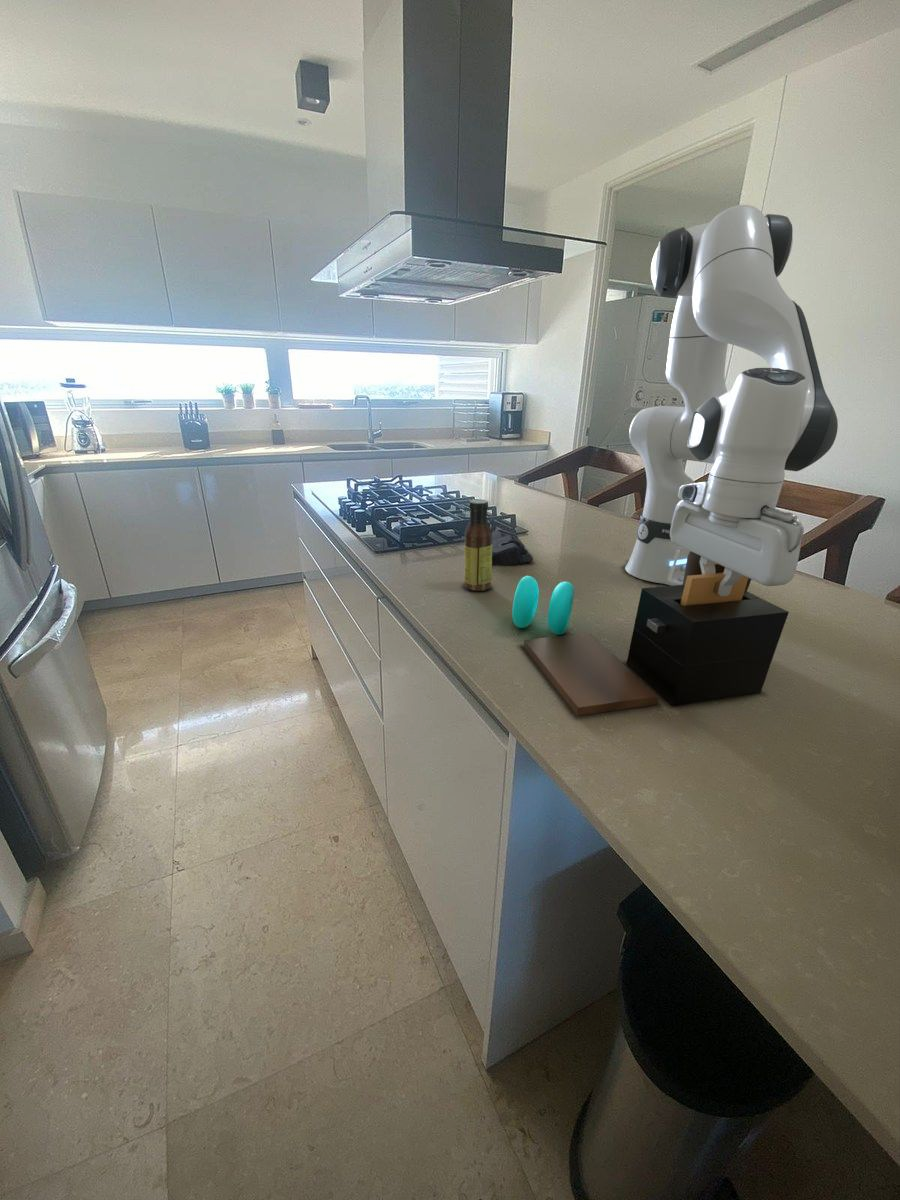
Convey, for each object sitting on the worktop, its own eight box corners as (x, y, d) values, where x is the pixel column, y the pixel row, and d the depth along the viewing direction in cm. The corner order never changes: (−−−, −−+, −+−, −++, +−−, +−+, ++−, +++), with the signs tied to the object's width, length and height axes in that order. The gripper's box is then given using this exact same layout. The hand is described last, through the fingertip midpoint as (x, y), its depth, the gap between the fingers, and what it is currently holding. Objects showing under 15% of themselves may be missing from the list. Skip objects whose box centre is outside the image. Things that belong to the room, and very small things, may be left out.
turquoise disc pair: (562, 645, 87) (570, 594, 83) (508, 635, 90) (513, 585, 86) (570, 622, 96) (577, 575, 92) (520, 613, 99) (525, 567, 95)
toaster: (705, 654, 86) (726, 580, 80) (760, 692, 75) (789, 611, 70) (617, 665, 82) (632, 588, 76) (662, 707, 71) (684, 623, 65)
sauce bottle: (491, 582, 114) (496, 498, 106) (490, 593, 108) (496, 505, 100) (463, 581, 114) (466, 496, 106) (461, 591, 109) (464, 503, 100)
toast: (724, 635, 78) (743, 571, 73) (730, 638, 77) (749, 573, 72) (670, 641, 75) (687, 575, 71) (675, 645, 74) (692, 578, 70)
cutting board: (588, 639, 90) (590, 632, 89) (656, 704, 72) (658, 695, 71) (523, 647, 87) (524, 639, 86) (576, 716, 69) (578, 707, 68)
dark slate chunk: (521, 540, 145) (523, 524, 143) (534, 566, 125) (536, 548, 123) (470, 539, 145) (471, 523, 143) (474, 564, 125) (475, 547, 123)
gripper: (828, 516, 58) (791, 619, 64) (706, 483, 76) (686, 566, 82) (785, 519, 57) (752, 624, 63) (672, 484, 75) (654, 568, 81)
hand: (714, 590), depth 72 cm, fingers closed on toast, 1 cm apart
